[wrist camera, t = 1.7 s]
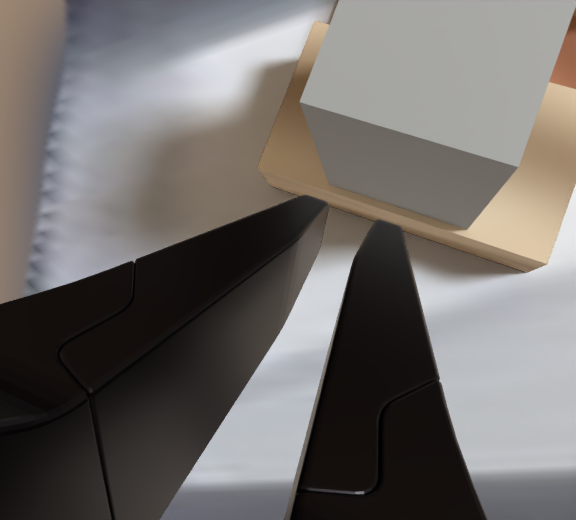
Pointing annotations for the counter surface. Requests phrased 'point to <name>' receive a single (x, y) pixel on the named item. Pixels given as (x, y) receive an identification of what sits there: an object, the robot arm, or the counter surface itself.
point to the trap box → (502, 208)
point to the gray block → (431, 98)
